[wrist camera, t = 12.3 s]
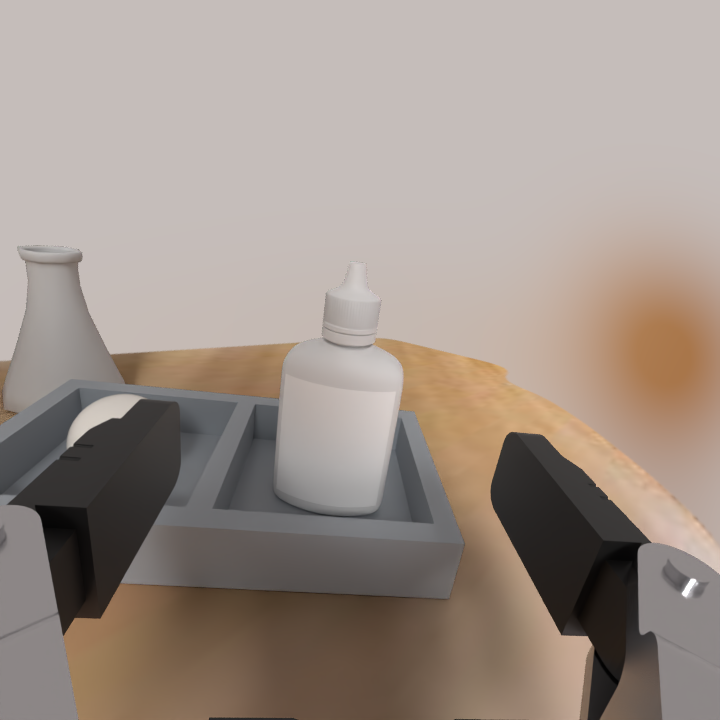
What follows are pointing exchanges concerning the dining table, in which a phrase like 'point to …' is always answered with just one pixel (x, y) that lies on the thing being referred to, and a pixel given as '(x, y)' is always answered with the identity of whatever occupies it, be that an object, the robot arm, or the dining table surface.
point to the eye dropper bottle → (338, 408)
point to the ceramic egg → (100, 414)
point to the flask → (54, 331)
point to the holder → (258, 503)
